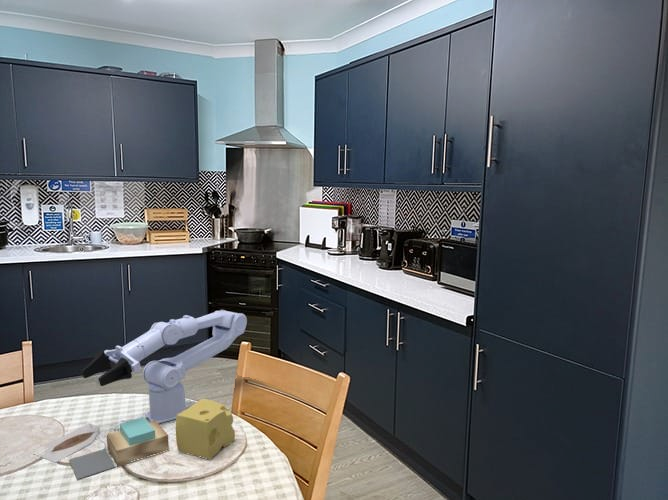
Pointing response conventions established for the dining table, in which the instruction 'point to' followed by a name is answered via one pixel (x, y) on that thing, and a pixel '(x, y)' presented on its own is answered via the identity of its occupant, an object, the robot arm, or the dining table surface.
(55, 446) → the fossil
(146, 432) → the turquoise rectangular block
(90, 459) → the mat
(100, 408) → the dining table surface
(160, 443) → the block
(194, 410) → the cheese
